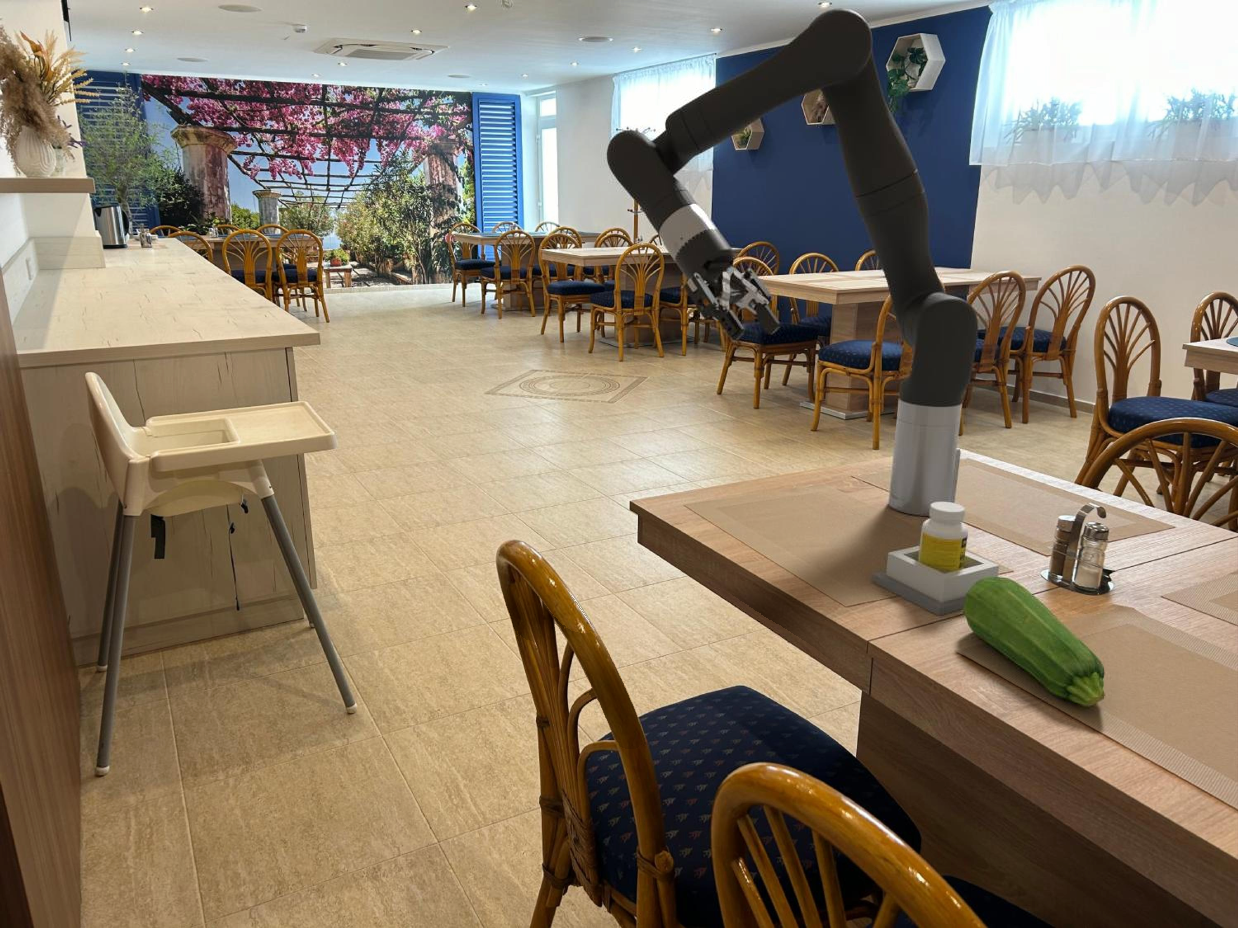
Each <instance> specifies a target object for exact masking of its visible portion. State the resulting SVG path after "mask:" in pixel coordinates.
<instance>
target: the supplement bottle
mask: <svg viewBox="0 0 1238 928" xmlns="http://www.w3.org/2000/svg"><path fill="white" fill-rule="evenodd" d="M965 512H966V508H965V507H964V506H963V505H961V504H959V503H951V502H935V503H932V504H931V506H930V514H929V519H926V520H925V521H923V523H922V526H921V531H920V532H921V533H920V539H919V540H920V541H919V546H920V548H919V556H918V562H920V563H922V564H924V565H927V566H929V567H931V568H933V569H935V570H937V571H939V572H942V573H944V574H946V573H950V572H954V571H958V570H961V569H963V567H964V559H965V551H967V550H966V549H967V543H968V535H969V529H968V527H967V525H965V523H963V521H964V519H965Z"/></svg>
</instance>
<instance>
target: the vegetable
mask: <svg viewBox="0 0 1238 928" xmlns="http://www.w3.org/2000/svg"><path fill="white" fill-rule="evenodd" d="M962 610H963V614H964V616H965V620H966V622H967V625H968V627H969V628H970V629H971V631H972V632H973V633H974V634H975V635H976V636H978V637H979V638H980V639H981V640H982V641H984V642H986V643H987V644H989V645H990V646H991V647H993V648H994V649H996V650H997V651H999V652H1000V653H1002V654H1003V655H1004V656H1005V657H1006V658H1009V660H1011V661H1012V663H1013V662H1014V663H1015V664H1016V665H1018V666H1019V667H1021V668H1022V669H1024V670H1025V671H1026V672H1027V673H1029V674H1030V675H1032V676H1033V678H1035V679H1036V680H1037V681H1038V682H1039V683H1040V684H1041V685H1043V686H1044V688H1045V689H1046V690H1048V692H1049V693H1051V694H1052V695H1054V696H1056V697H1059V698H1060V699H1061V698H1062V699H1065V700H1066V701H1068V702H1070V703H1071V702H1072V703H1076V704H1079V705H1081V706H1083V707H1090V706H1095V705H1097V703H1099V702H1101V701H1103V700H1104V699H1105V696H1106V694H1105V691H1104V689H1103V688H1104V685H1105V683H1104V678H1105V673H1106V672H1105V667H1104V665H1103V663H1102V661H1101V660H1100V659H1099V657H1098V656H1097V654H1095V653H1094V652H1093V651H1092V650H1091V649H1090V648H1089V647H1088V646H1087V645H1086V644H1084V642H1083V641H1081V640H1080V639H1079V638H1078V637H1077V636H1076V635H1075V634H1074V633H1073V632H1071V630H1070V629H1068V627H1066V625H1064V624H1063V623H1062V622H1061V621H1060V620H1059V619H1058V618H1057V616H1055V614H1054V613H1052V611H1051V610H1050V609H1049V608H1048V607H1047V606H1046V605H1045V604H1044V603H1043V602H1042V601H1040V600H1039V599H1038V598H1037V597H1036V596H1035V595H1034V594H1032V592H1030V591H1029V590H1028V589H1026V587H1024V586H1023V585H1022V584H1019V583H1018V582H1017V581H1015V580H1014V579H1011V578H1008V577H1003V576H998V577H985V578H983V579H980V580H979V581H977V582H976V583H975V584H974V585H973V586H972V587H971V588H970V589H969V590H968V592H967V594H966V598H965V601H964V606H963V609H962Z"/></svg>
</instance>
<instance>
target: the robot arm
mask: <svg viewBox="0 0 1238 928" xmlns="http://www.w3.org/2000/svg"><path fill="white" fill-rule="evenodd" d="M817 90H820V92H821V94H822V96H823V98H824V100H825V103H826V105H827V107H828V108H829V112H830V114H831V116H832V119H833V121H834V122H833V123H834V125H835V127H836V132H837V136H838V140H839V145H840V150H841V155H842V160H843V164H844V167H845V172H846V176H847V178H848V179H847V180H848V183H849V186H850V189H851V192H852V196H853V198H854V202H855V204H856V207H857V209H858V212H859V214H860V217H861V219H862V222H863V224H864V226H865V229H866V231H867V234H868V237H869V239H870V243H871V245H872V247H873V250H874V253H875V255H876V257H877V260H878V262H879V264H880V266H881V269H882V272H883V274H884V276H885V280H886V283H887V286H888V291H889V296H890V300H891V304H892V307H893V312H894V316H895V320H896V324H897V327H898V330H899V331H898V332H899V333H900V335H901V336H900V337H901V338H902V339H903V341H904V342H905V343H906V344H907V345H908V346H909V347H910V348H911V349H912V350H914V352H913V354H914V355H913V358H912V359H913V360H912V367H911V371H910V373H909V374H908V376H907V377H905V378H904V379H903V380H901V382H900V386H899V395H898V404H897V415H896V425H895V432H894V433H895V435H894V443H893V444H894V446H893V457H892V466H891V474H890V475H891V476H890V482H889V483H890V484H889V486H890V487H889V495H888V496H889V497H888V505H889V507H891V508H892V509H894V510H896V511H898V512H901V513H904V514H909V515H914V516H915V515H916V516H929V514H930V506H931V504H932V503H935V502H951V503H955V502H956V495H957V493H956V492H957V488H958V487H957V485H958V484H957V483H958V477H959V469H960V461H961V450H960V448H958V442H959V441H958V439H959V434H960V431H959V430H960V426H961V425H960V424H961V417H962V407H963V402H964V401H963V399H964V395H965V392H966V390H967V388H968V386H969V384H970V382H971V377H972V374H973V369H974V364H975V363H974V362H975V356H976V350H977V344H978V338H979V337H978V334H979V320H978V316H977V312H976V311H975V309H974V307H973V306H972V305H971V304H970V302H968V301H967V300H964V299H963V298H961V297H958V296H953V295H950V294H947V293H946V291H945V289H944V287H943V285H942V283H941V280H940V279H939V276H938V274H937V271H936V269H935V266H934V262H933V260H932V256H931V252H930V242H929V241H930V239H929V238H930V237H929V235H930V234H929V233H930V232H929V231H930V214H929V213H930V211H929V203H928V199H927V195H926V191H925V187H924V185H923V183H922V179H921V177H920V173H919V170H918V169H917V165H916V162H915V160H914V158H913V155H912V153H911V151H910V148H909V147H908V144H907V142H906V139H905V137H904V136H903V133H902V132H901V130H900V128H899V126H898V124H897V121H895V118H894V116H893V114H892V113H891V110H890V109H889V107H888V105H887V102H886V99H885V96H884V94H883V90H882V86H881V83H880V78H879V74H878V71H877V67H876V63H875V58H874V53H873V34H872V30H871V28H870V26H869V24H868V22H867V20H866V19H865V18H864V17H863V16H862V15H860V14H859V12H856V11H854V10H852V9H849V8H842V7H841V8H840V7H839V8H833V9H829V10H826V11H824V12H822V13H821V14H820V15H818V16H817V17H815V18H814V20H813V21H811V23H810V24H809V26H808V27H807V28H806V29H804V30H803V31H802V32H801V33H800V34H799V35H797V36H796V37H795V38H794V39H792V40H791V41H790V42H789V43H787V44H786V45H785V46H784V47H782V48H781V49H780V50H778V51H777V52H775V53H774V54H773V55H771V56H770V57H768V58H766V59H765V60H764V61H761V62H760V63H758V64H757V65H756V66H753V67H752V68H750V69H748V70H747V71H744V72H743V73H740V74H738V75H736V76H735V77H733V78H731V79H729V80H727V81H725V82H723V83H721V84H719V85H717V86H715V87H713V88H712V89H709V90H708V91H705V92H704V93H702V94H700V95H699V96H697V97H696V98H693V99H692V100H690V101H689V102H687V103H686V104H684V105H682V106H680V107H678V108H677V109H676V110H674V111H672V112H671V113H670V114H669V115H667V117H666V118H665V121H664V126H665V130H663V132H662V133H660V134H659V135H658V136H657V137H655V138H654V139H652V140H651V139H650V138H649V137H648V136H646V135H645V134H644V133H642V132H641V131H638V130H633V129H625V130H623V131H620V132H618V133H616V134H615V135H614V136H613V137H612V139H611V140H610V141H609V143H608V146H607V148H606V149H607V150H606V160H607V161H606V162H607V165H608V168H609V169H610V171H611V173H612V174H613V176H614V177H615V179H616V181H617V182H618V183H619V184H620V185H621V186H622V188H623V189H624V190H625V192H627V193H628V194H629V195H630V197H631V198H632V199H633V201H635V202H636V203H637V204H638V206H639V207H640V208H641V210H642V211H643V213H644V215H645V216H646V218H647V219H648V221H649V223H650V225H651V226H652V227H653V229H654V230H655V232H656V233H657V235H658V236H659V238H660V239H661V241H662V242H663V245H664V247H665V249H666V251H668V253H669V255H670V256H671V258H672V259H673V260H674V262H675V263H676V265H677V266H678V268H679V269H680V271H681V272H682V274H683V275H684V276H685V278H686V280H687V281H686V282H685V283H684V285H683V288H684V289H685V291H686V292H687V294H688V296H689V297H690V299H691V300H692V301H693V303H694V305H695V306H696V308H697V310H698V311H699V312H700V314H701V316H702V317H703V318H705V319H708V318H710V317H712V319H713V320H714V321H716V322H719V324H720V325H721V326H722V329H724V330H725V332H726V334H727V335H728V336H729V338H730V339H731V340H732V341H738V340H739V339H741V337H742V336H744V334H746V328H745V327H744V325H743V324H742V323H741V321H740V320H739V318H738V317H737V315H736V314H735V312H734V311H733V309H730V304H731V305H733V304H734V305H736V306H737V307H739V308H741V309H744V308H746V309H748V310H749V312H752V313H753V314H754V316H755V318H756V319H757V321H758V322H759V323H760V324H761V326H762V328H763V329H764V330H765V332H766V334H768V335H773V334H775V333H776V332H777V331H778V330H779V329H780V328H781V327H782V326H781V322H780V321H779V320H778V318H777V316H776V315H775V314H774V312H773V311H772V310H771V308H770V306H769V304H770V303H771V302H772V301H773V300H774V296H773V295H772V293H771V292H770V291H769V290H768V288H767V287H766V286H765V283H763V281H762V280H761V279H760V277H759V276H758V275H757V274H756V272H754V270H753V269H752V268H749V267H748V268H747V269H746V270H745V271H744V272H740V271H739V270H738V269H737V268H736V267H735V265H734V260H735V251H734V250H733V249H732V247H731V246H730V244H729V242H728V241H727V240H726V239H725V237H724V236H723V234H722V233H721V232H720V230H719V229H718V228H717V226H716V225H715V224H714V222H713V220H712V219H711V218H710V217H709V215H708V214H707V213H705V211H704V210H703V209H702V208H701V207H700V205H698V203H697V202H696V200H695V199H694V198H693V196H692V194H691V193H690V191H688V189H687V187H685V185H684V184H682V182H681V181H680V180H679V179H677V178H676V177H675V175H676V174H678V173H679V172H680V171H681V170H682V169H683V168H684V167H686V165H687V164H688V163H690V161H691V160H693V158H695V157H697V156H699V155H701V154H703V153H704V152H706V151H708V150H710V149H711V148H713V147H715V146H717V145H719V144H721V143H723V142H724V141H726V140H728V139H729V138H731V137H732V136H734V135H736V134H737V133H739V132H741V131H742V130H743V129H745V128H747V127H748V126H750V125H751V124H753V123H754V122H756V121H757V120H759V119H761V118H762V117H764V116H766V115H768V114H769V113H770V112H772V111H774V110H776V109H779V107H781V106H783V105H785V104H787V103H789V102H791V101H793V100H795V99H798V98H799V97H802V96H804V95H807V94H809V93H812V92H814V91H817ZM760 293H761V294H760ZM705 300H706V301H707V302H708V304H707V305H705V303H704V301H705ZM751 301H752V302H751ZM929 517H930V516H929Z"/></svg>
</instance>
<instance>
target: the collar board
mask: <svg viewBox="0 0 1238 928" xmlns="http://www.w3.org/2000/svg"><path fill="white" fill-rule="evenodd" d="M919 548H920V545H917V546H913V547H908V548H903V549H899V550H894V551H889V552H888V554H887V563H886V570H885V571H881V572H877V573H872V579H871V580H872V581H871V582H873V583H874V584H877V585H878V586H880V587H881V588H884V589H886V590H888V591H890V592H892V593H894V594H895V595H897V596H900V597H902V598H904V599H905V600H907V601H909V602H911V603H913V604H915V605H917V606H919V607H920V608H922V609H924V610H927V611H929V612H931V613H932V614H935V615H936V616H943V615H947V614H949V613H954V612H957V611H961V610H963V606H964V601H965V598H966V594H967V592H968V590H969V589H970V588H971V587H972V586H973V585H974V584H975V583H976V582H977V581H979V580H980V579H983V578H985V577H999V570H1000V565H999V564H997V563H995V562H992V561H990V560H987V559H986V558H983V557H980V556H978V555H976V554H973V553H971V552H969V551H967V550H966V551H965V559H964V567H963V569H961V570H958V571H954V572H950V573H946V574H944V573H942V572H939V571H937V570H935V569H933V568H931V567H929V566H927V565H924V564H922V563H920V562H918V556H919Z"/></svg>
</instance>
